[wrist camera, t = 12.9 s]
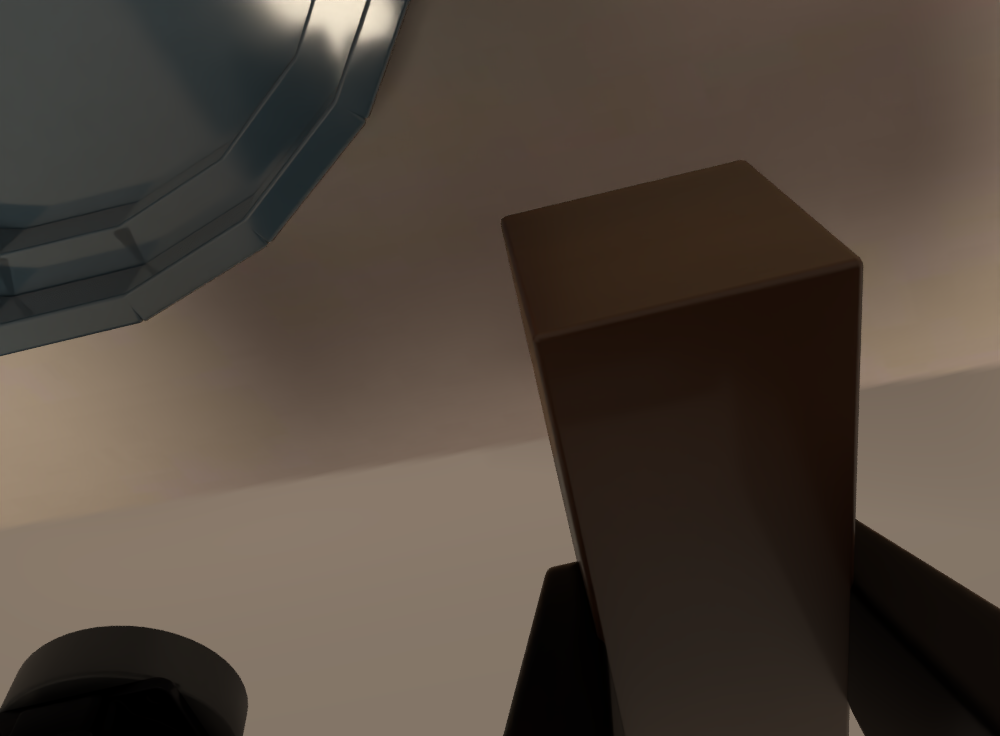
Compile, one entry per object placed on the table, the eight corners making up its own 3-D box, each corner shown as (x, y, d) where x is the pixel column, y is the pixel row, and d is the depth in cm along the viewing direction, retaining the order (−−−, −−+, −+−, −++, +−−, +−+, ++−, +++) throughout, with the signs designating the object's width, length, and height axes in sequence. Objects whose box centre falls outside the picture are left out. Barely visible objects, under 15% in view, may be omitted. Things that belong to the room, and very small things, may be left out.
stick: (772, 681, 12) (847, 847, 10) (611, 715, 12) (654, 888, 10) (745, 155, 8) (868, 260, 6) (497, 215, 8) (531, 338, 6)
